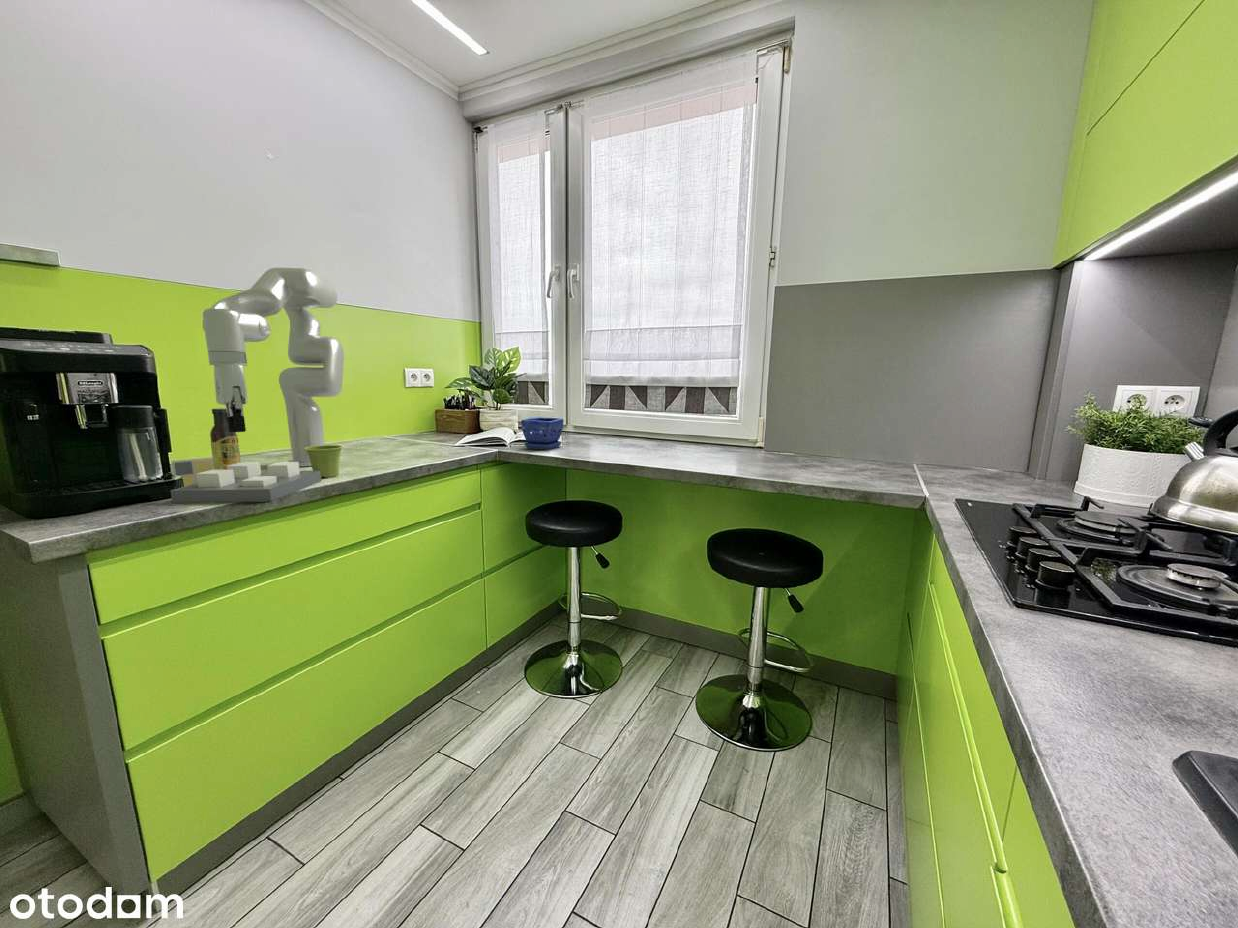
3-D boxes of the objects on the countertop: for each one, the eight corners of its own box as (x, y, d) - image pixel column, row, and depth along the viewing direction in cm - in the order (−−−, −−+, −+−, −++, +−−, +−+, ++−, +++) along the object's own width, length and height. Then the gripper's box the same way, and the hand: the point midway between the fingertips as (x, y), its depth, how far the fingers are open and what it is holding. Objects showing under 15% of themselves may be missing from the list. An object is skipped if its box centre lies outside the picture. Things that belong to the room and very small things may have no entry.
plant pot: (332, 471, 148) (329, 444, 147) (352, 474, 144) (349, 446, 142) (301, 477, 140) (297, 448, 138) (321, 480, 136) (317, 450, 134)
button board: (238, 482, 134) (237, 471, 133) (321, 481, 135) (320, 470, 135) (172, 503, 112) (170, 490, 112) (271, 501, 114) (269, 489, 113)
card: (176, 491, 123) (171, 460, 122) (216, 486, 128) (212, 457, 127) (176, 492, 123) (171, 461, 121) (217, 487, 128) (212, 457, 126)
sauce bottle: (227, 479, 137) (216, 409, 134) (209, 478, 138) (198, 409, 135) (248, 474, 144) (239, 407, 140) (231, 473, 145) (221, 407, 141)
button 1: (214, 485, 120) (211, 469, 120) (235, 485, 121) (233, 469, 120) (198, 490, 115) (196, 473, 115) (220, 489, 116) (218, 473, 115)
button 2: (242, 477, 130) (240, 462, 129) (261, 476, 130) (259, 462, 130) (228, 481, 125) (226, 465, 125) (249, 480, 126) (246, 465, 125)
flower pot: (565, 446, 201) (564, 418, 199) (549, 451, 189) (549, 420, 186) (537, 444, 206) (536, 416, 203) (520, 449, 193) (519, 419, 191)
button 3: (257, 491, 121) (255, 476, 121) (278, 491, 122) (276, 476, 121) (243, 496, 116) (241, 480, 116) (265, 496, 117) (263, 480, 116)
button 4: (281, 476, 131) (279, 462, 130) (300, 476, 131) (298, 461, 130) (269, 480, 126) (267, 465, 125) (289, 480, 126) (287, 465, 126)
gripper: (203, 360, 124) (213, 431, 127) (215, 358, 114) (225, 435, 117) (239, 361, 130) (247, 429, 133) (253, 359, 120) (262, 432, 123)
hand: (237, 431), depth 125 cm, fingers closed
